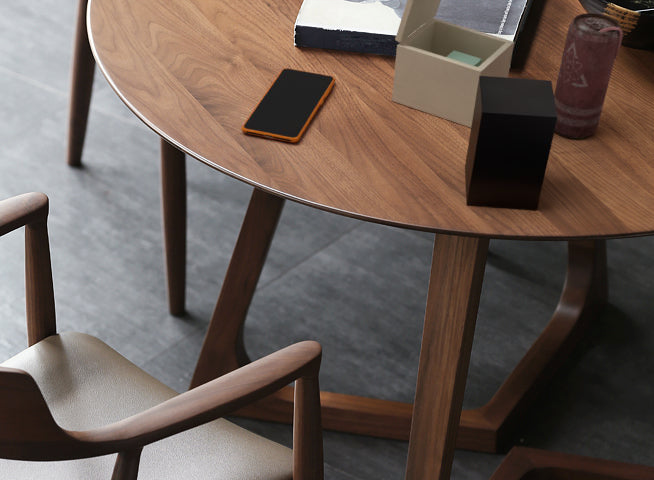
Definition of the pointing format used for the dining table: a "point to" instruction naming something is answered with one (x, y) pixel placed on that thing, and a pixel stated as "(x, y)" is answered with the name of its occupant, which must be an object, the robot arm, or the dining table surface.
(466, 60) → the mint green block
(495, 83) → the stand
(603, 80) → the can
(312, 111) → the smartphone
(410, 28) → the lid
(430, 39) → the beige box
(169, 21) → the dining table surface
